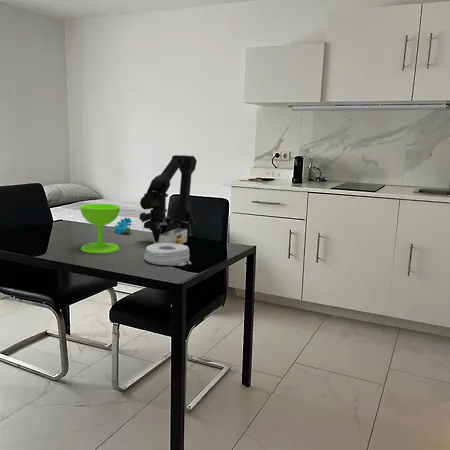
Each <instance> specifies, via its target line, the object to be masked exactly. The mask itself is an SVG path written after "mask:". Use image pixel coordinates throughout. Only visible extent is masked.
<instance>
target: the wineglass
mask: <svg viewBox="0 0 450 450" xmlns="http://www.w3.org/2000/svg"><path fill="white" fill-rule="evenodd" d="M120 208H121V206H120V205H116V204H110V203H109V204H107V203H89V204H82V205H80V206H79V209H80V213H81V215H82V217H83V218H84V220H86V222H88V223H89V224H91V225H94V226H97V241H96V242H90V243H85V244H84V245H82V246H81V248H80V251H82V252H83V253H84V252H85V253H90V254H108V253H114V252H117V251H119V250H121V249H120V247H119V245H117V244H116V243H112V242H105V241H104V240H103V239H104V238H103V237H104V234H103V230H104V228H103V226H106V225H110V224H111V223H112V222H114V221H115V220H116V218H117V217H118V215H119V213H120V210H121V209H120Z"/></svg>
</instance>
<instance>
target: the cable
mask: <svg viewBox="0 0 450 450" xmlns="http://www.w3.org/2000/svg"><path fill="white" fill-rule="evenodd" d="M143 256H144V257H143V258H144V260H145V261H146V262H147V263H149V264H153V265H159V266H160V265H162V266H173V267H177V266H178V267H184V266H186V265H192V262H191V261H190V256H191V255H190V248H189V246H188V245H185V244H183V245H181V244H173V243H158V244H150V245H147V246H146V248H145V253H144V255H143Z"/></svg>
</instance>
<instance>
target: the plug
mask: <svg viewBox="0 0 450 450" xmlns="http://www.w3.org/2000/svg"><path fill="white" fill-rule="evenodd" d="M160 235H162V234H160ZM158 243H159V240H158V242H155V240H154V239H153V244H158ZM176 244H181V245H184V243H183V238H177V241H176Z"/></svg>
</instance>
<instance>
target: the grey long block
mask: <svg viewBox="0 0 450 450" xmlns="http://www.w3.org/2000/svg"><path fill="white" fill-rule="evenodd" d="M177 238H183V244H184V243H187V241H188V237H187V229H182V228H179V227H177V228H174V229H172V230H170V231H166V232H165V233H164V234H162V235H159V243H173V244H176V241H177Z"/></svg>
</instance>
